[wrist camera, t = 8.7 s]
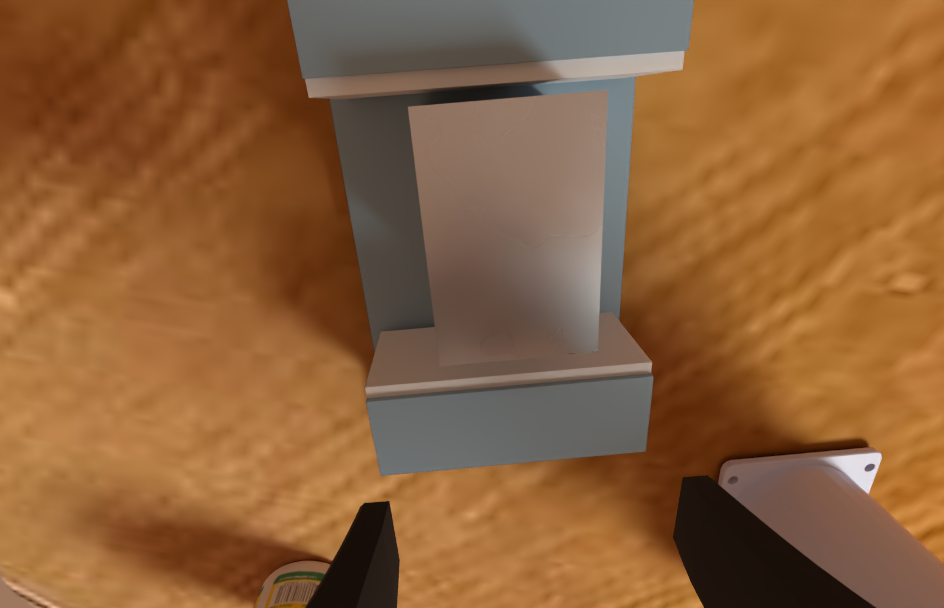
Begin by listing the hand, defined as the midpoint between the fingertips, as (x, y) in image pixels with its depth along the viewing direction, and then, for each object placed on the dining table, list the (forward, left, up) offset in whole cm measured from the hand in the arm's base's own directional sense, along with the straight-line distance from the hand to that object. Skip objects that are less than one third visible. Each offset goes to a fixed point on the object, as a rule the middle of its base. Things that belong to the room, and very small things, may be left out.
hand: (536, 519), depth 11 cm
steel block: (+7, 0, -8) cm, 11 cm away
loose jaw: (0, 0, -8) cm, 8 cm away
